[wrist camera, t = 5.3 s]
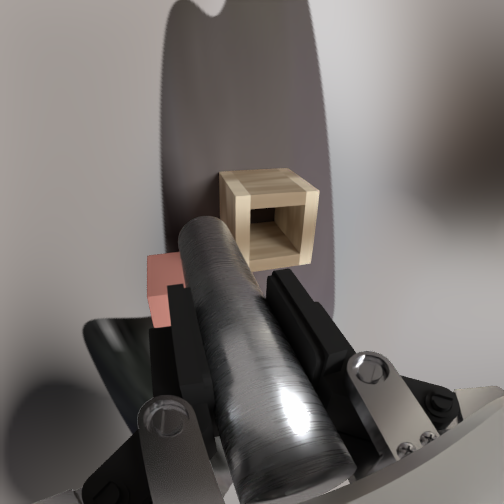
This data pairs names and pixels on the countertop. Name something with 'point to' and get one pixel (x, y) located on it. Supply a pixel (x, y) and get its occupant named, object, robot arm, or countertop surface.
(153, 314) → the red block small bore
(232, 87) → the countertop surface
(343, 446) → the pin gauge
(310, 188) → the beech block wide bore
